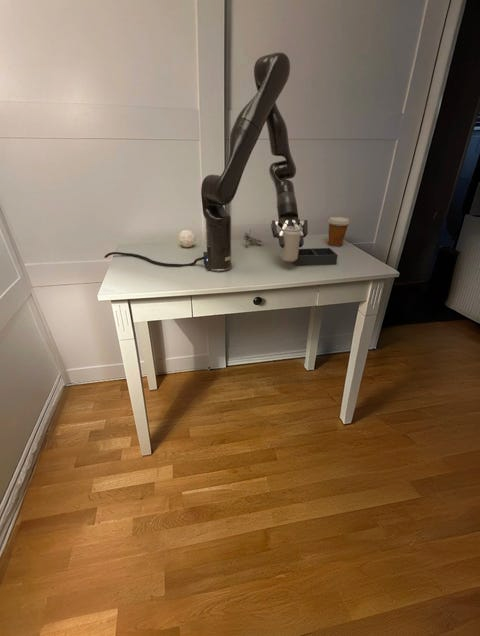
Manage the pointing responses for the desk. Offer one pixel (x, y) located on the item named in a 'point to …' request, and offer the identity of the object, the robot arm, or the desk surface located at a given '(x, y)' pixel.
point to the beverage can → (291, 243)
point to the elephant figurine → (251, 239)
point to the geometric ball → (187, 238)
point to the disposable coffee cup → (337, 230)
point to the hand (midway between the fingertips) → (291, 246)
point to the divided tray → (316, 257)
